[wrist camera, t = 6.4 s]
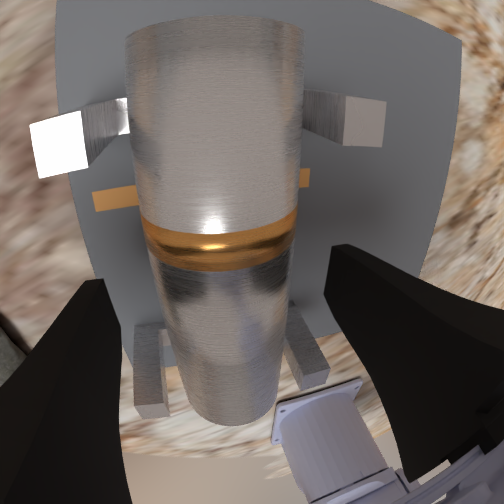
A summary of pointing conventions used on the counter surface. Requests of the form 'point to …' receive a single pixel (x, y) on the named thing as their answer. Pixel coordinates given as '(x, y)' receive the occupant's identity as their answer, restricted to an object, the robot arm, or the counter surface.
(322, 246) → the board
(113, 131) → the collar
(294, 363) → the collar
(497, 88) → the counter surface
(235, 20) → the tube
